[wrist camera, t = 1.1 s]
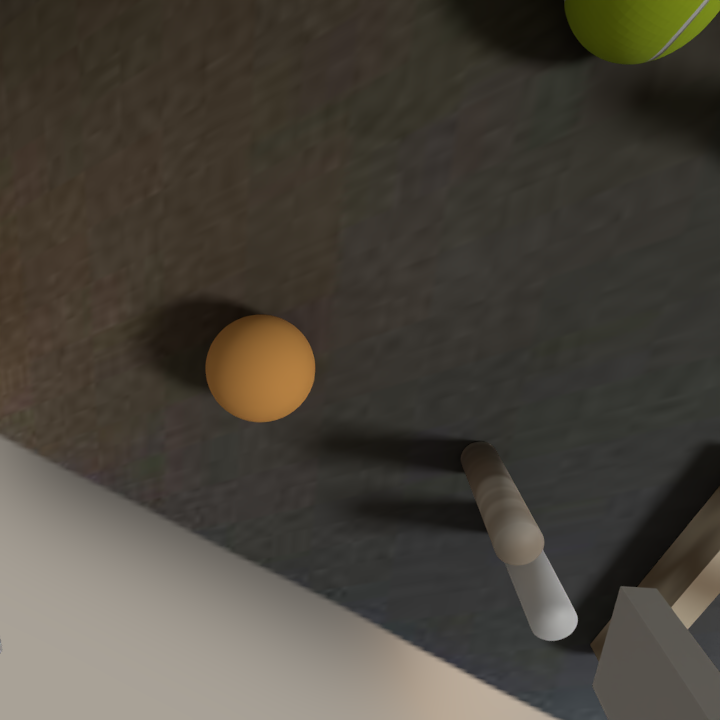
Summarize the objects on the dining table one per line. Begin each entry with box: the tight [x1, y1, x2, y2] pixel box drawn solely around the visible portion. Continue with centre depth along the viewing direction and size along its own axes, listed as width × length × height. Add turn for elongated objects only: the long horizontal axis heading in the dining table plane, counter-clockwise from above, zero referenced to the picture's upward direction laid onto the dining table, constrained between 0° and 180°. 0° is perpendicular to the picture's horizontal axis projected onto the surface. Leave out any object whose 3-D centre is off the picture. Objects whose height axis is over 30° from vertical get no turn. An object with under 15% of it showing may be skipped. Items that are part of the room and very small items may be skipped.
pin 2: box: [505, 550, 578, 641], centre depth 30 cm, size 2×2×9 cm
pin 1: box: [461, 441, 544, 565], centre depth 29 cm, size 2×2×9 cm
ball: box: [205, 315, 315, 422], centre depth 29 cm, size 6×6×6 cm
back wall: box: [590, 486, 720, 661], centre depth 34 cm, size 18×2×3 cm, turn 152°
